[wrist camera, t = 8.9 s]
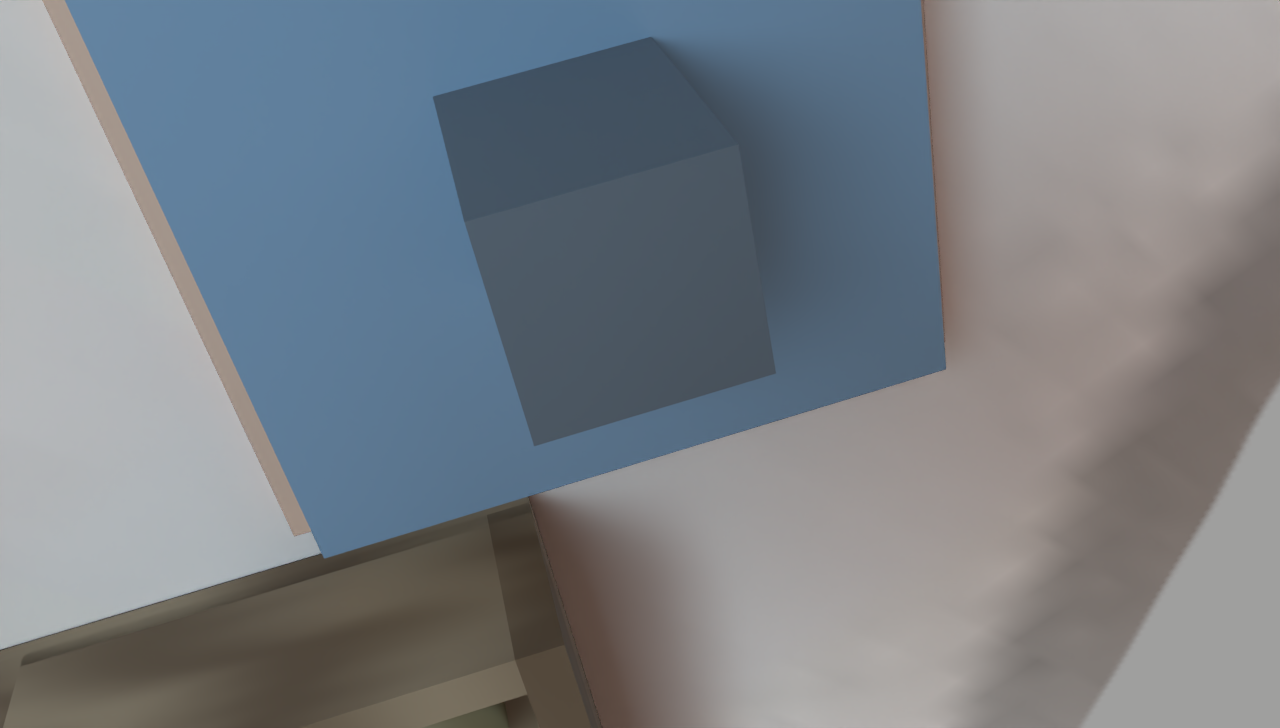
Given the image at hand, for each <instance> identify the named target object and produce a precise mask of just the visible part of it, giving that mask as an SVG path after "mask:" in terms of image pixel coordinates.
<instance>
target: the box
mask: <svg viewBox="0 0 1280 728" xmlns="http://www.w3.org/2000/svg"><path fill="white" fill-rule="evenodd" d="M0 728H602V726H601V723H600V720H599V717H598V714H597V711H596V708H595V704H594V701H593V698H592V695H591V692H590V689H589V686H588V682H587V679H586V676H585V673H584V670H583V667H582V664H581V660H580V657H579V654H578V651H577V648H576V645H575V642H574V639H573V635H572V632H571V629H570V626H569V623H568V620H567V617H566V613H565V610H564V607H563V604H562V601H561V598H560V595H559V591H558V588H557V585H556V582H555V579H554V576H553V573H552V569H551V566H550V563H549V560H548V557H547V554H546V551H545V547H544V544H543V541H542V538H541V535H540V532H539V529H538V525H537V522H536V519H535V516H534V513H533V510H532V507H531V504H530V500H529V497H525V498H522V499H518V500H515V501H512V502H508V503H505V504H502V505H499V506H495V507H492V508H489V509H486V510H482V511H479V512H476V513H472V514H469V515H466V516H463V517H459V518H456V519H453V520H449V521H446V522H443V523H440V524H436V525H433V526H430V527H426V528H423V529H420V530H417V531H413V532H410V533H407V534H403V535H400V536H397V537H394V538H390V539H387V540H384V541H380V542H377V543H374V544H371V545H367V546H364V547H361V548H357V549H354V550H351V551H348V552H344V553H341V554H338V555H335V556H331V557H328V558H325V559H324V557H323V555H322V554H320V555H317V556H313V557H310V558H307V559H303V560H300V561H297V562H293V563H290V564H287V565H283V566H280V567H277V568H273V569H270V570H267V571H263V572H260V573H257V574H253V575H250V576H247V577H243V578H240V579H237V580H233V581H230V582H227V583H223V584H220V585H217V586H213V587H210V588H207V589H204V590H200V591H197V592H194V593H190V594H187V595H184V596H180V597H177V598H174V599H170V600H167V601H164V602H160V603H157V604H154V605H150V606H147V607H144V608H140V609H137V610H134V611H130V612H127V613H124V614H120V615H117V616H114V617H110V618H107V619H104V620H100V621H97V622H94V623H90V624H87V625H84V626H80V627H77V628H74V629H70V630H67V631H64V632H60V633H57V634H54V635H50V636H47V637H44V638H40V639H37V640H34V641H31V642H27V643H24V644H21V645H17V646H14V647H11V648H7V649H4V650H1V651H0Z"/></svg>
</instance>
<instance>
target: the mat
mask: <svg viewBox="0 0 1280 728" xmlns="http://www.w3.org/2000/svg"><path fill="white" fill-rule="evenodd" d="M43 3H44V5H45V7H46V9H47V11H48V13H49V15H50V17H51V20H52V22H53V24H54V26H55V28H56V30H57V32H58V34H59V37H60V39H61V41H62V43H63V45H64V47H65V49H66V51H67V54H68V56H69V58H70V60H71V62H72V64H73V66H74V69H75V71H76V73H77V75H78V77H79V79H80V81H81V83H82V86H83V88H84V90H85V92H86V94H87V96H88V98H89V100H90V103H91V105H92V107H93V109H94V111H95V113H96V115H97V117H98V120H99V122H100V124H101V126H102V128H103V130H104V132H105V135H106V137H107V139H108V141H109V143H110V145H111V147H112V149H113V152H114V154H115V156H116V158H117V160H118V162H119V164H120V166H121V169H122V171H123V173H124V175H125V177H126V179H127V181H128V183H129V186H130V188H131V190H132V192H133V194H134V196H135V198H136V200H137V203H138V205H139V207H140V209H141V211H142V213H143V215H144V218H145V220H146V222H147V224H148V226H149V228H150V230H151V232H152V235H153V237H154V239H155V241H156V243H157V245H158V247H159V249H160V252H161V254H162V256H163V258H164V260H165V262H166V264H167V266H168V269H169V271H170V273H171V275H172V277H173V279H174V281H175V283H176V286H177V288H178V290H179V292H180V294H181V296H182V298H183V301H184V303H185V305H186V307H187V309H188V311H189V313H190V315H191V318H192V320H193V322H194V324H195V326H196V328H197V330H198V332H199V335H200V337H201V339H202V341H203V343H204V345H205V347H206V349H207V352H208V354H209V356H210V358H211V360H212V362H213V364H214V366H215V369H216V371H217V373H218V375H219V377H220V379H221V381H222V384H223V386H224V388H225V390H226V392H227V394H228V396H229V398H230V401H231V403H232V405H233V407H234V409H235V411H236V413H237V415H238V418H239V420H240V422H241V424H242V426H243V428H244V430H245V432H246V435H247V437H248V439H249V441H250V443H251V445H252V447H253V449H254V452H255V454H256V456H257V458H258V460H259V462H260V464H261V467H262V469H263V471H264V473H265V475H266V477H267V479H268V481H269V484H270V486H271V488H272V490H273V492H274V494H275V496H276V498H277V501H278V503H279V505H280V507H281V509H282V511H283V513H284V515H285V518H286V520H287V522H288V524H289V526H290V528H291V530H292V532H293V535H294V536H297V535H301V534H304V533H308V532H311V529H310V527H309V525H308V523H307V521H306V519H305V516H304V514H303V512H302V510H301V508H300V506H299V503H298V501H297V499H296V497H295V495H294V493H293V491H292V488H291V486H290V484H289V482H288V480H287V478H286V475H285V473H284V471H283V469H282V467H281V465H280V463H279V460H278V458H277V456H276V454H275V452H274V450H273V447H272V445H271V443H270V441H269V439H268V437H267V435H266V432H265V430H264V428H263V426H262V424H261V422H260V419H259V417H258V415H257V413H256V411H255V409H254V407H253V404H252V402H251V400H250V398H249V396H248V394H247V392H246V389H245V387H244V385H243V383H242V381H241V379H240V376H239V374H238V372H237V370H236V368H235V366H234V364H233V361H232V359H231V357H230V355H229V353H228V351H227V348H226V346H225V344H224V342H223V340H222V338H221V336H220V333H219V331H218V329H217V327H216V325H215V323H214V320H213V318H212V316H211V314H210V312H209V310H208V308H207V305H206V303H205V301H204V299H203V297H202V295H201V292H200V290H199V288H198V286H197V284H196V282H195V280H194V277H193V275H192V273H191V271H190V269H189V267H188V264H187V262H186V260H185V258H184V256H183V254H182V252H181V249H180V247H179V245H178V243H177V241H176V239H175V236H174V234H173V232H172V230H171V228H170V226H169V224H168V221H167V219H166V217H165V215H164V213H163V211H162V209H161V206H160V204H159V202H158V200H157V198H156V196H155V193H154V191H153V189H152V187H151V185H150V183H149V181H148V178H147V176H146V174H145V172H144V170H143V168H142V165H141V163H140V161H139V159H138V157H137V155H136V153H135V150H134V148H133V146H132V144H131V142H130V140H129V137H128V135H127V133H126V131H125V129H124V127H123V125H122V122H121V120H120V118H119V116H118V114H117V112H116V109H115V107H114V105H113V103H112V101H111V99H110V97H109V94H108V92H107V90H106V88H105V86H104V84H103V81H102V79H101V77H100V75H99V73H98V71H97V69H96V66H95V64H94V62H93V60H92V58H91V56H90V54H89V51H88V49H87V47H86V45H85V43H84V41H83V38H82V36H81V34H80V32H79V30H78V28H77V26H76V23H75V21H74V19H73V17H72V15H71V13H70V10H69V8H68V6H67V4H66V2H65V0H43ZM921 12H922V26H923V41H924V55H925V70H926V84H927V99H928V114H929V128H930V143H931V157H932V172H933V187H934V201H935V216H936V230H937V245H938V259H939V274H940V289H941V303H942V287H941V271H940V255H939V240H938V224H937V208H936V192H935V176H934V160H933V145H932V129H931V113H930V97H929V81H928V65H927V49H926V34H925V18H924V2H923V0H921ZM942 318H943V303H942ZM943 332H944V319H943ZM944 342H945V335H944Z"/></svg>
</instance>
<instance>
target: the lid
mask: <svg viewBox="0 0 1280 728" xmlns="http://www.w3.org/2000/svg"><path fill="white" fill-rule="evenodd" d="M65 2H66V4H67V6H68V8H69V10H70V13H71V15H72V17H73V19H74V21H75V23H76V26H77V28H78V30H79V32H80V34H81V36H82V38H83V41H84V43H85V45H86V47H87V49H88V51H89V54H90V56H91V58H92V60H93V62H94V64H95V66H96V69H97V71H98V73H99V75H100V77H101V79H102V81H103V84H104V86H105V88H106V90H107V92H108V94H109V97H110V99H111V101H112V103H113V105H114V107H115V109H116V112H117V114H118V116H119V118H120V120H121V122H122V125H123V127H124V129H125V131H126V133H127V135H128V137H129V140H130V142H131V144H132V146H133V148H134V150H135V153H136V155H137V157H138V159H139V161H140V163H141V165H142V168H143V170H144V172H145V174H146V176H147V178H148V181H149V183H150V185H151V187H152V189H153V191H154V193H155V196H156V198H157V200H158V202H159V204H160V206H161V209H162V211H163V213H164V215H165V217H166V219H167V221H168V224H169V226H170V228H171V230H172V232H173V234H174V236H175V239H176V241H177V243H178V245H179V247H180V249H181V252H182V254H183V256H184V258H185V260H186V262H187V264H188V267H189V269H190V271H191V273H192V275H193V277H194V280H195V282H196V284H197V286H198V288H199V290H200V292H201V295H202V297H203V299H204V301H205V303H206V305H207V308H208V310H209V312H210V314H211V316H212V318H213V320H214V323H215V325H216V327H217V329H218V331H219V333H220V336H221V338H222V340H223V342H224V344H225V346H226V348H227V351H228V353H229V355H230V357H231V359H232V361H233V364H234V366H235V368H236V370H237V372H238V374H239V376H240V379H241V381H242V383H243V385H244V387H245V389H246V392H247V394H248V396H249V398H250V400H251V402H252V404H253V407H254V409H255V411H256V413H257V415H258V417H259V419H260V422H261V424H262V426H263V428H264V430H265V432H266V435H267V437H268V439H269V441H270V443H271V445H272V447H273V450H274V452H275V454H276V456H277V458H278V460H279V463H280V465H281V467H282V469H283V471H284V473H285V475H286V478H287V480H288V482H289V484H290V486H291V488H292V491H293V493H294V495H295V497H296V499H297V501H298V503H299V506H300V508H301V510H302V512H303V514H304V516H305V519H306V521H307V523H308V525H309V527H310V529H311V531H312V534H313V536H314V538H315V540H316V542H317V544H318V547H319V549H320V551H321V553H322V555H323V557H324V559H325V558H328V557H331V556H335V555H338V554H341V553H344V552H348V551H351V550H354V549H357V548H361V547H364V546H367V545H371V544H374V543H377V542H380V541H384V540H387V539H390V538H394V537H397V536H400V535H403V534H407V533H410V532H413V531H417V530H420V529H423V528H426V527H430V526H433V525H436V524H440V523H443V522H446V521H449V520H453V519H456V518H459V517H463V516H466V515H469V514H472V513H476V512H479V511H482V510H486V509H489V508H492V507H495V506H499V505H502V504H505V503H508V502H512V501H515V500H518V499H522V498H525V497H528V496H531V495H535V494H538V493H541V492H545V491H548V490H551V489H554V488H558V487H561V486H564V485H568V484H571V483H574V482H577V481H581V480H584V479H587V478H591V477H594V476H597V475H600V474H604V473H607V472H610V471H614V470H617V469H620V468H623V467H627V466H630V465H633V464H637V463H640V462H643V461H646V460H650V459H653V458H656V457H659V456H663V455H666V454H669V453H673V452H676V451H679V450H682V449H686V448H689V447H692V446H696V445H699V444H702V443H705V442H709V441H712V440H715V439H719V438H722V437H725V436H728V435H732V434H735V433H738V432H742V431H745V430H748V429H751V428H755V427H758V426H761V425H765V424H768V423H771V422H774V421H778V420H781V419H784V418H788V417H791V416H794V415H797V414H801V413H804V412H807V411H810V410H814V409H817V408H820V407H824V406H827V405H830V404H833V403H837V402H840V401H843V400H847V399H850V398H853V397H856V396H860V395H863V394H866V393H870V392H873V391H876V390H879V389H883V388H886V387H889V386H893V385H896V384H899V383H902V382H906V381H909V380H912V379H916V378H919V377H922V376H925V375H929V374H932V373H935V372H939V371H942V370H945V369H946V361H945V347H944V332H943V318H942V303H941V289H940V274H939V259H938V245H937V230H936V216H935V201H934V187H933V172H932V157H931V143H930V128H929V114H928V99H927V84H926V70H925V55H924V41H923V26H922V12H921V0H65Z"/></svg>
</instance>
